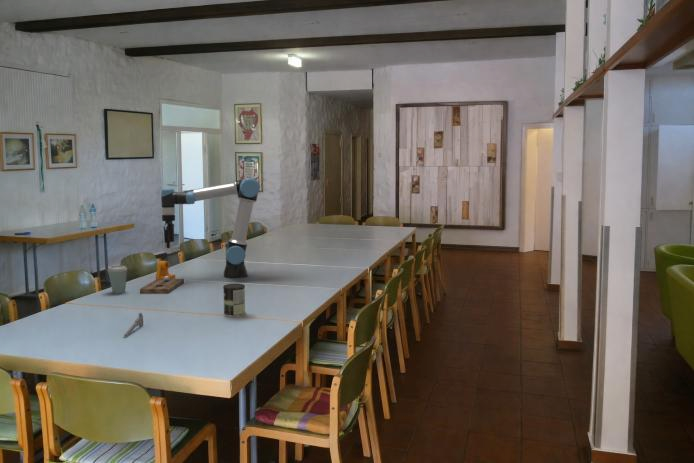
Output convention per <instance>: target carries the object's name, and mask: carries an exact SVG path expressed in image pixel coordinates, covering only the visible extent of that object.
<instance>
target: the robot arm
mask: <svg viewBox="0 0 694 463" xmlns="http://www.w3.org/2000/svg"><path fill="white" fill-rule="evenodd" d="M260 188H261V186H260V183H259V182H258V180H257V178H253V177H245V178H242V179H238V180H234V181H233V182H231V183H224V184H219V185H212V186H206V187H201V188H200V187H199V188H195V189H189V190H182V191H175V189H174V188H162V189H161V190H160V191H161V194H160V195H161V196H160V198H161V200H160V201H161V209H160V210H161V214H162V215H161V220H162V222H164V225H163V228H162V229H163V234H164V243H165V248H166V250H165V251H166V254H172V253H174V242H175V224H174V223H173V222H175V221H176V215H175V214H176V207H175V206H176V205H194V204H195V203H196V202H199V201H200V202H201V201H205V200H206V201H207V200H211V199H212V200H213V199H217V198H223V197H229V196H235V195H236V196H237V199H238V200H239V201H238V207H237V211H236V216H235V220H234V224H233V230H232V234H231V238H230V239H228V240H227V241H225V245H224V246H225V267H224V270H223V278H226V279H240V278H245V277H247V276H248V271H247V268H246V265H245V259H246V251H247V247H248V243H247V242H246V239H247V234H248V230H249V226H250V221H251V217H252V216H251V215H252V210H253V207H254V204H255V203H256V202H257V200H258V195H259V193H260Z"/></svg>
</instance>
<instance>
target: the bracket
mask: <svg viewBox="0 0 694 463" xmlns="http://www.w3.org/2000/svg"><path fill="white" fill-rule="evenodd" d="M169 269H170V262H169V261H168V260H159V261H158V263H157V268H156V274H155V280H156V279H164V277H165V276H169V279H176V274H171V273H169Z"/></svg>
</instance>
